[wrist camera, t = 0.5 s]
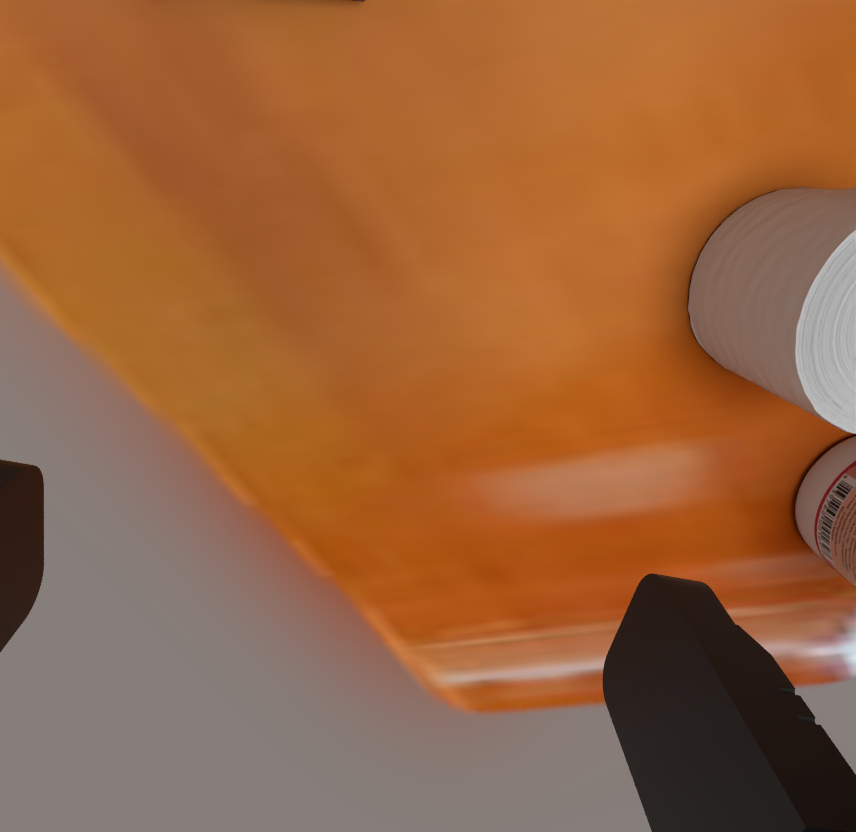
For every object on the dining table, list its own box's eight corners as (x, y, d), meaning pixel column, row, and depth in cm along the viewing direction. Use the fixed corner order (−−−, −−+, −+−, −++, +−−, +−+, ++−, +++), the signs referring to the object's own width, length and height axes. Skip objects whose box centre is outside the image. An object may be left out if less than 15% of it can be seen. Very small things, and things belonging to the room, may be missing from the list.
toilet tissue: (746, 155, 34) (888, 147, 25) (923, 238, 37) (1113, 258, 27) (653, 341, 38) (748, 395, 28) (822, 406, 40) (961, 476, 31)
